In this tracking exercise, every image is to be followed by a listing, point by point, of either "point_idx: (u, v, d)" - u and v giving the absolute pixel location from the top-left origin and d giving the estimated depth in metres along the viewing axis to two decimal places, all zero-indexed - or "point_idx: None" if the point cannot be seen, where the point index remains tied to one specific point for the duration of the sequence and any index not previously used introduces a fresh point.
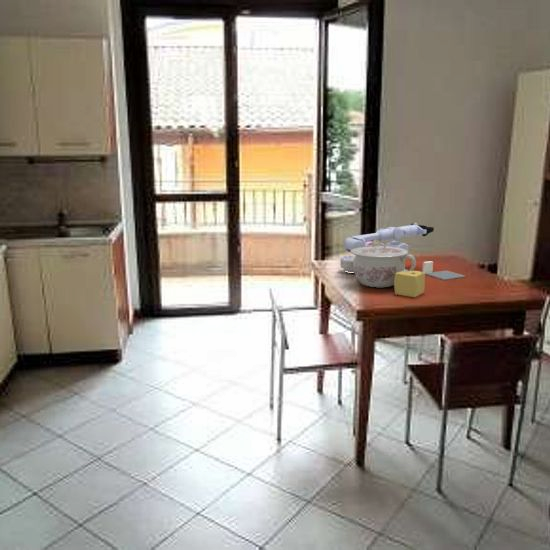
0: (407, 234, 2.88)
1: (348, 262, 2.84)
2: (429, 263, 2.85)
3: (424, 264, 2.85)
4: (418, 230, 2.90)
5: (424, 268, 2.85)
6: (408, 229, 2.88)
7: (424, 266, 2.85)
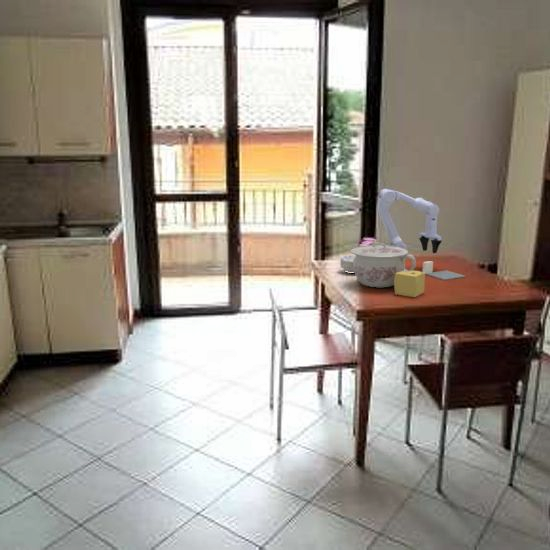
0: (430, 222, 2.87)
1: (348, 262, 2.84)
2: (429, 263, 2.85)
3: (424, 264, 2.85)
4: (434, 235, 2.88)
5: (424, 268, 2.85)
6: (435, 224, 2.87)
7: (424, 266, 2.85)
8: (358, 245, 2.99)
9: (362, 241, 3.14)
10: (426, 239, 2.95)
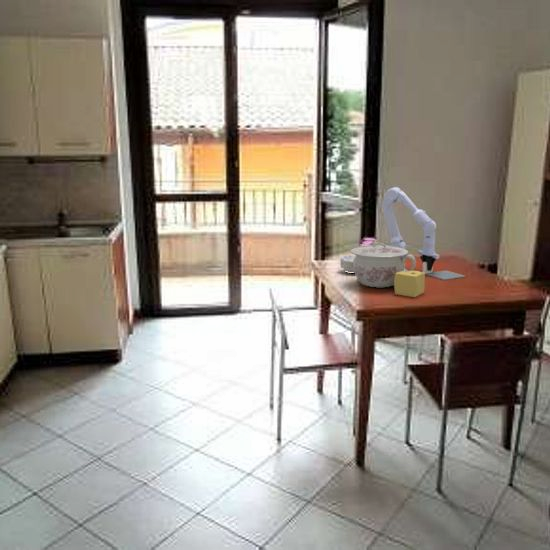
0: (425, 240, 2.82)
1: (348, 262, 2.84)
2: None
3: (424, 264, 2.85)
4: (432, 253, 2.82)
5: (424, 268, 2.85)
6: (431, 242, 2.81)
7: (424, 266, 2.85)
8: (359, 245, 2.99)
9: (362, 241, 3.14)
10: None
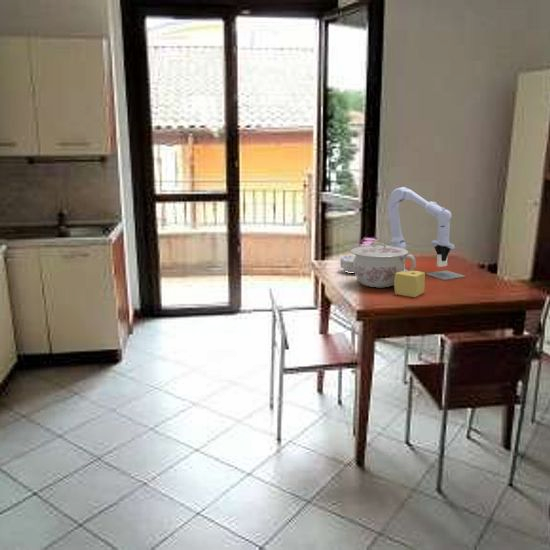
0: (440, 230, 2.75)
1: (348, 262, 2.84)
2: None
3: (438, 257, 2.79)
4: (447, 243, 2.76)
5: (438, 261, 2.79)
6: (445, 231, 2.74)
7: (438, 259, 2.79)
8: (359, 245, 2.99)
9: (363, 241, 3.14)
10: None
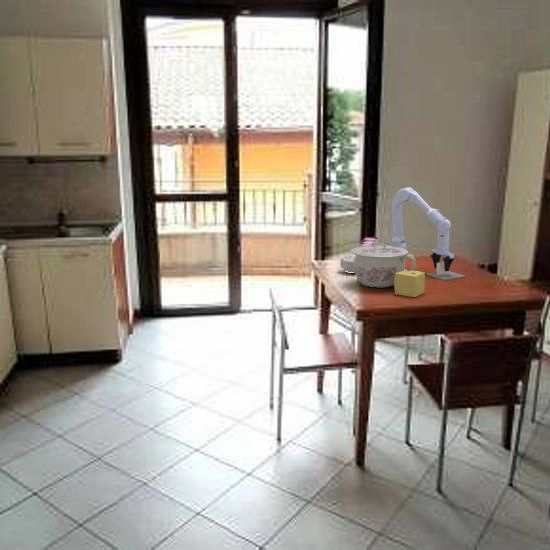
0: (439, 239, 2.77)
1: (348, 262, 2.84)
2: (443, 264, 2.80)
3: (438, 265, 2.80)
4: (447, 252, 2.77)
5: (438, 269, 2.80)
6: (444, 241, 2.75)
7: (438, 267, 2.80)
8: (360, 245, 2.99)
9: (363, 241, 3.14)
10: (438, 256, 2.84)
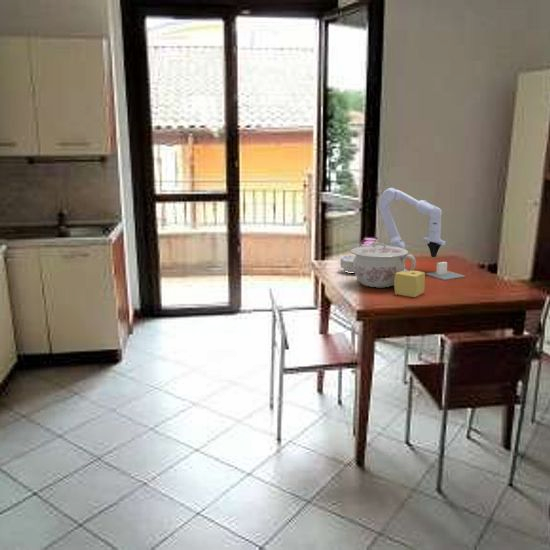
0: (432, 227, 2.81)
1: (348, 262, 2.84)
2: (443, 264, 2.80)
3: (438, 265, 2.80)
4: (438, 240, 2.81)
5: (438, 269, 2.80)
6: (437, 228, 2.80)
7: (438, 267, 2.80)
8: (361, 245, 2.99)
9: (363, 241, 3.14)
10: None
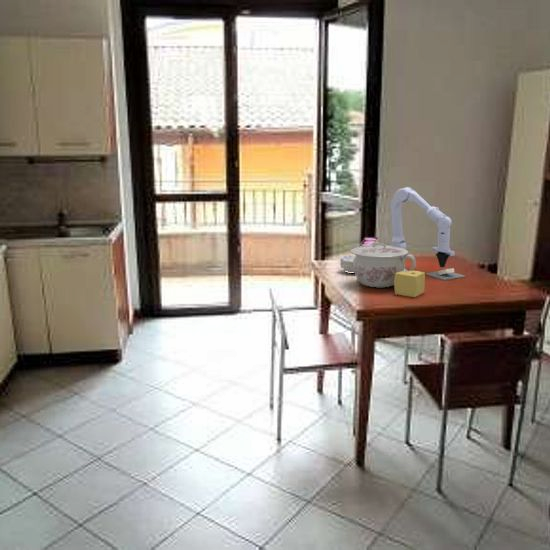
0: (440, 236, 2.76)
1: (348, 262, 2.84)
2: (450, 272, 2.77)
3: (445, 272, 2.76)
4: (447, 250, 2.76)
5: (442, 272, 2.78)
6: (445, 238, 2.75)
7: (443, 272, 2.77)
8: (361, 245, 2.99)
9: (363, 241, 3.14)
10: None
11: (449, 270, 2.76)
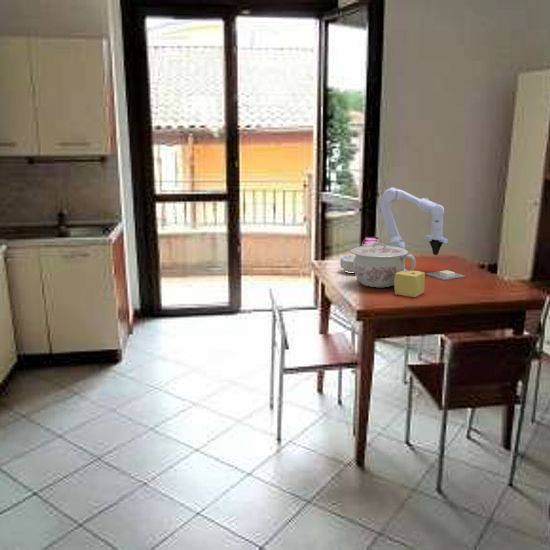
0: (434, 224, 2.79)
1: (348, 262, 2.84)
2: None
3: (445, 275, 2.76)
4: (441, 238, 2.80)
5: (443, 275, 2.78)
6: (439, 226, 2.78)
7: (444, 275, 2.77)
8: (362, 245, 2.98)
9: (364, 241, 3.14)
10: None
11: (450, 274, 2.76)
